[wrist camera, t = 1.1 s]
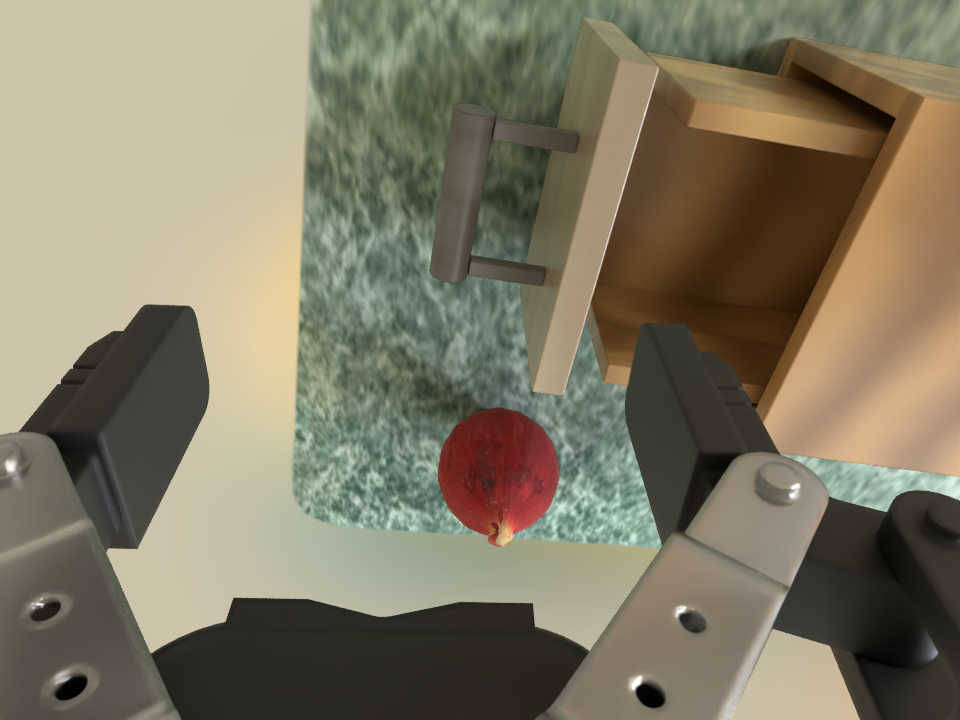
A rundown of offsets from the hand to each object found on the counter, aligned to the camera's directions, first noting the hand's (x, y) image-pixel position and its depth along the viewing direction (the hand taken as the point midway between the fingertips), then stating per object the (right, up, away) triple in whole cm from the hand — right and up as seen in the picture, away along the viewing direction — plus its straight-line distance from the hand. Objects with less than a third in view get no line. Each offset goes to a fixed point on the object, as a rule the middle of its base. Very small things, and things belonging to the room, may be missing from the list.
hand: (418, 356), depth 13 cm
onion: (+2, -3, +25) cm, 25 cm away
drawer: (+8, +7, +16) cm, 20 cm away
